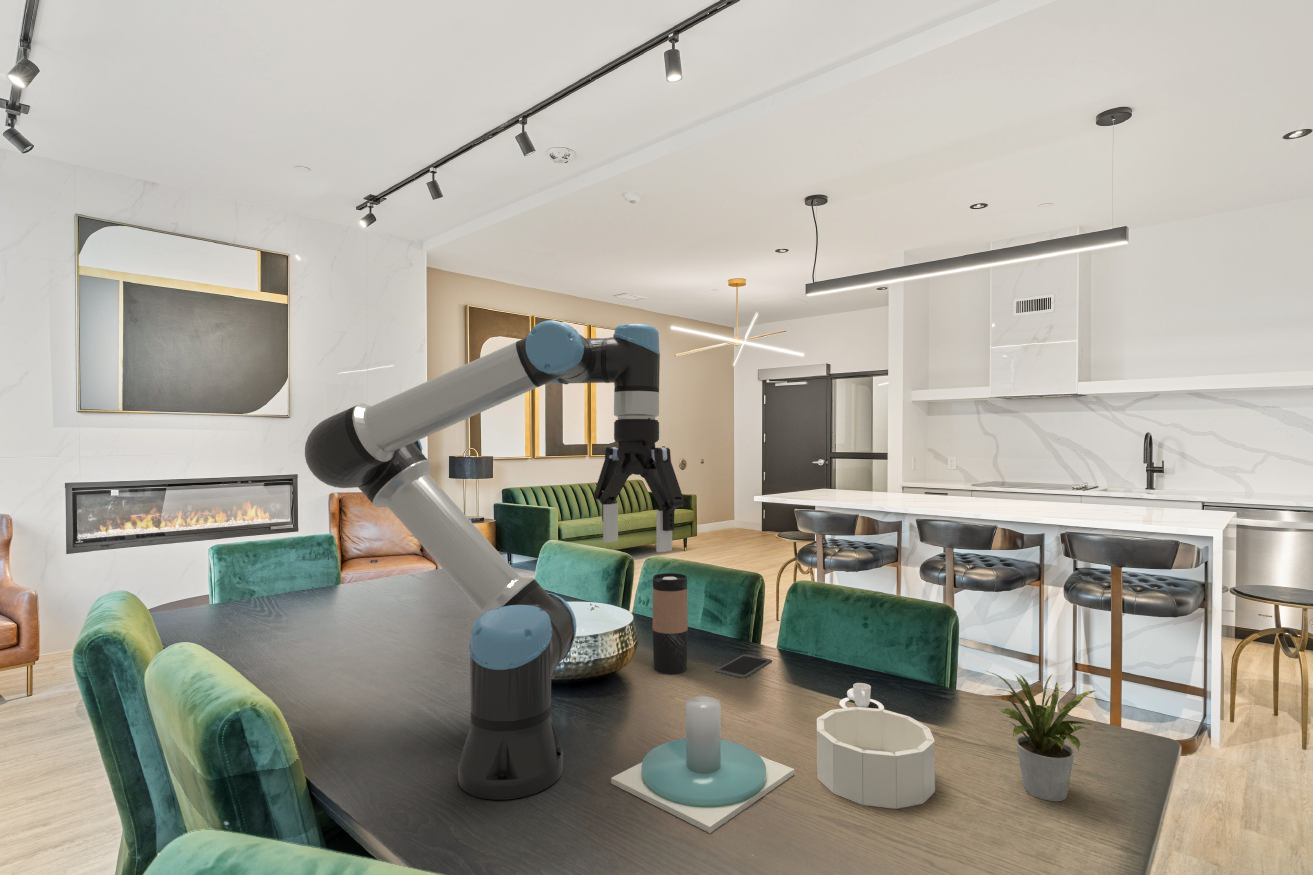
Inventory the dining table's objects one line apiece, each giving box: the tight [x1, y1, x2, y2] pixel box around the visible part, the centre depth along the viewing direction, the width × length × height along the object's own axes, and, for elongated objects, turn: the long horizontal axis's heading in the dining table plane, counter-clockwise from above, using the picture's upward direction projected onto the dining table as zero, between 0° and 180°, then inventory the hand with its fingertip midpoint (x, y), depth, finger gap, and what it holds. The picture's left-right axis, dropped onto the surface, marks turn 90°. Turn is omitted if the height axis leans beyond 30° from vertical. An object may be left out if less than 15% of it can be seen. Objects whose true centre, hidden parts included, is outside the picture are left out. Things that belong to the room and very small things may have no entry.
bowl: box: [816, 706, 936, 810], centre depth 96 cm, size 16×16×7 cm
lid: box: [642, 695, 766, 807], centre depth 96 cm, size 18×18×10 cm
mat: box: [610, 755, 795, 834], centre depth 96 cm, size 20×18×1 cm
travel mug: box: [652, 572, 689, 675], centre depth 143 cm, size 8×8×20 cm
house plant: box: [983, 670, 1096, 802], centre depth 93 cm, size 14×14×16 cm
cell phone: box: [714, 653, 773, 679], centre depth 145 cm, size 7×14×1 cm, turn 145°
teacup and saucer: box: [838, 682, 885, 710], centre depth 123 cm, size 9×8×4 cm
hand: (636, 546), depth 110 cm, fingers open, 13 cm apart
